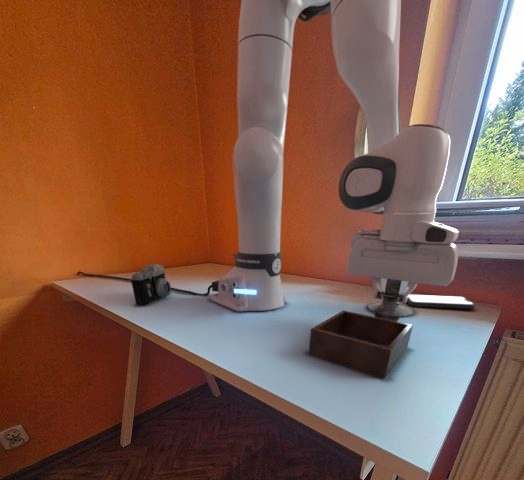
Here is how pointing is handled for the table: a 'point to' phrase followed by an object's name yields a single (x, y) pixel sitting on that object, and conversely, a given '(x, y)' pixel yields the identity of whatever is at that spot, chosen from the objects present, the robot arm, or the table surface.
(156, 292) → the camera
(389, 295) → the salt shaker
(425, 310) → the table surface
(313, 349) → the crate
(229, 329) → the table surface
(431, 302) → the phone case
